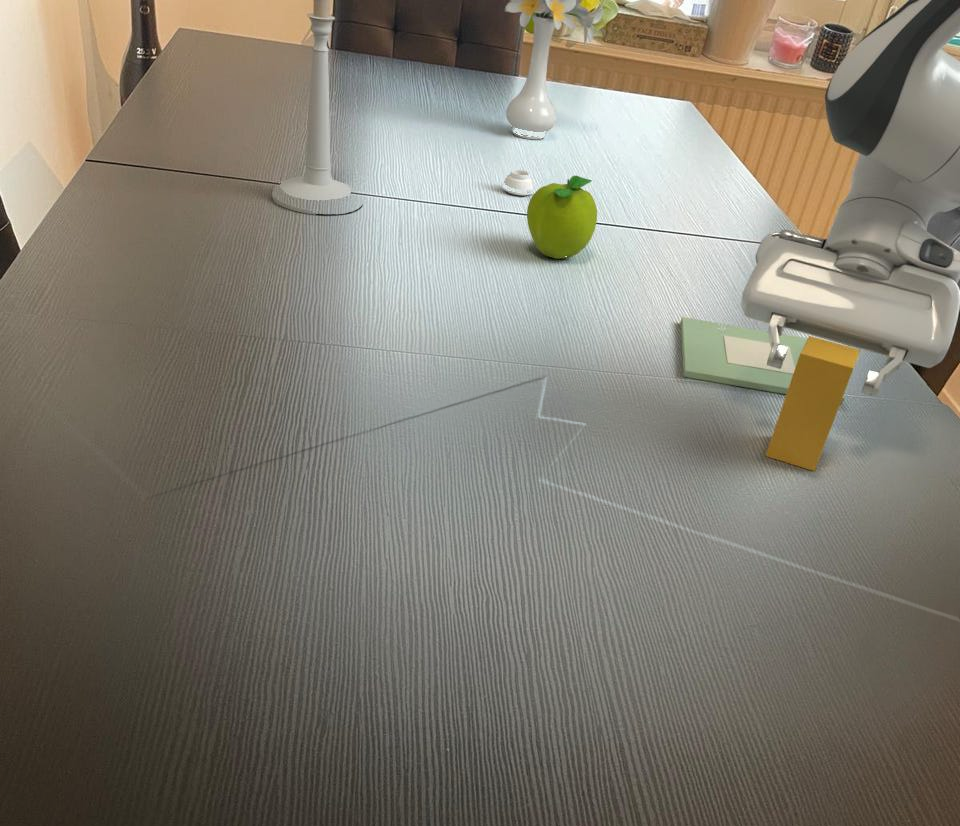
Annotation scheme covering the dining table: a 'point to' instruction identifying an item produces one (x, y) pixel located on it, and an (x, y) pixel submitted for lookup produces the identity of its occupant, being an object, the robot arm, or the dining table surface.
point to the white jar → (519, 182)
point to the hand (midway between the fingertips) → (820, 378)
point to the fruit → (562, 218)
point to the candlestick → (317, 124)
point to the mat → (736, 356)
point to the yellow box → (812, 402)
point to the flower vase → (544, 58)
